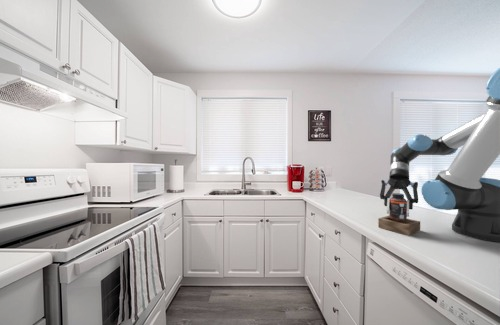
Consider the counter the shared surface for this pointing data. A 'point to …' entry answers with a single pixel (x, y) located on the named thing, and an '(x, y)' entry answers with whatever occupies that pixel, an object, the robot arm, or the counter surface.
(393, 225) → the walnut collar
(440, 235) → the counter surface
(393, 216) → the supplement bottle
